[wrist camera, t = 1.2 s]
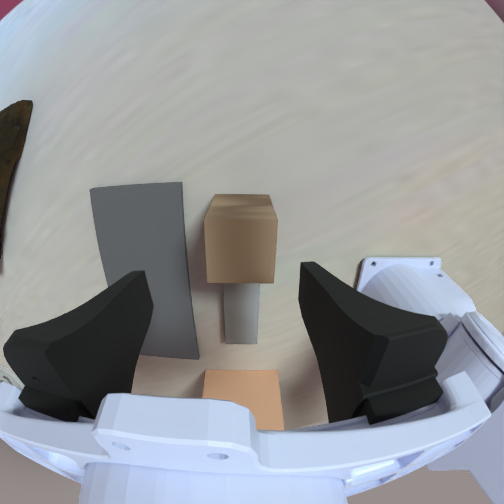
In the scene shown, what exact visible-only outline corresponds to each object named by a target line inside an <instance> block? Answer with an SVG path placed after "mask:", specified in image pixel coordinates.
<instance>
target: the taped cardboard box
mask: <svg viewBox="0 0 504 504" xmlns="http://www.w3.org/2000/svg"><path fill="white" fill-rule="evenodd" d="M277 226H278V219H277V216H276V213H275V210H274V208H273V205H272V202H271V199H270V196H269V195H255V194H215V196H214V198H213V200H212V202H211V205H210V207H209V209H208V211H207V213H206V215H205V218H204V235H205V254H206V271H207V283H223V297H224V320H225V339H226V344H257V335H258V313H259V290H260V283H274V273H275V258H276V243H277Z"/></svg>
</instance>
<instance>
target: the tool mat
mask: <svg viewBox="0 0 504 504" xmlns="http://www.w3.org/2000/svg"><path fill="white" fill-rule="evenodd" d="M90 196H91V204H92V211H93V217H94V223H95V229H96V235H97V240H98V245H99V250H100V254H101V259H102V263H103V268H104V272H105V276H106V280H107V284H108V287H109V286H111V285H112V284H114V283H115V282H116V281H118V280H119V279H121V278H122V277H124V276H125V275H127V274H128V273H130V272H132V271H139V270H145V274H146V278H147V282H148V286H149V290H150V293H151V297H152V301H153V304H154V308H153V313H152V318H151V322H150V326H149V328H148V331H147V334H146V337H145V340H144V343H143V345H142V348H141V351H140V355H149V356H158V357H169V358H181V359H197V360H199V351H198V344H197V338H196V331H195V323H194V316H193V308H192V300H191V291H190V282H189V272H188V262H187V251H186V238H185V225H184V209H183V190H182V182H171V183H150V184H134V185H121V186H109V187H98V188H92V189H90Z"/></svg>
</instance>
